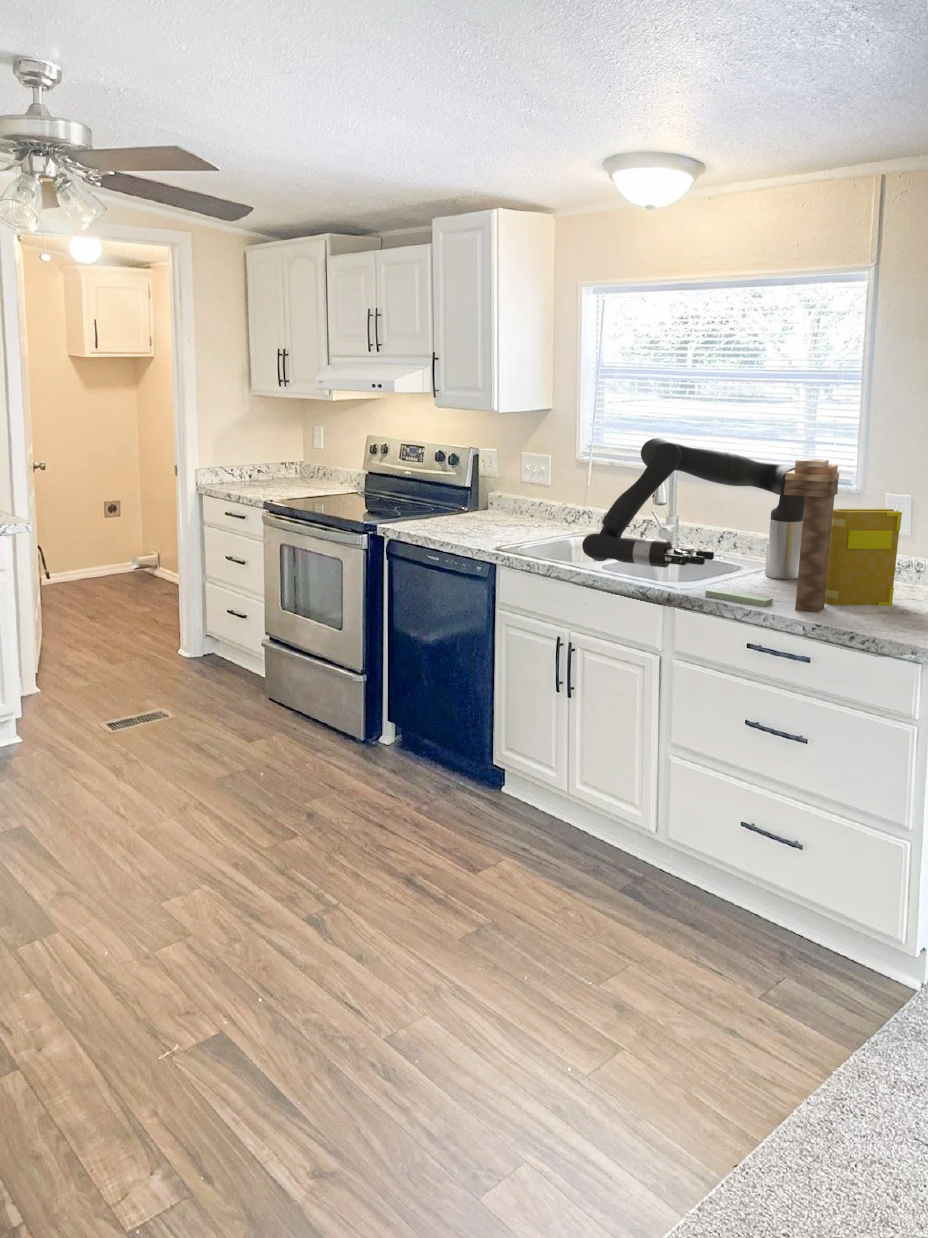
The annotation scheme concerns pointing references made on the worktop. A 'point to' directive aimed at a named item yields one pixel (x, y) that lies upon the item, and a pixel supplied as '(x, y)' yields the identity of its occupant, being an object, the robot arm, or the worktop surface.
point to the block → (739, 597)
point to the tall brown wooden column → (813, 527)
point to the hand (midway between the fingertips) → (709, 558)
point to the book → (862, 556)
